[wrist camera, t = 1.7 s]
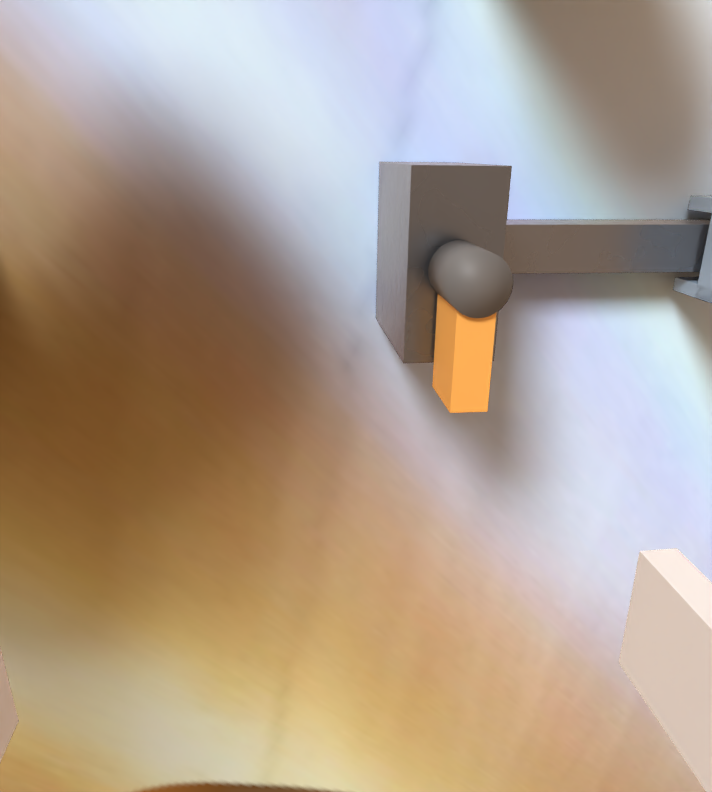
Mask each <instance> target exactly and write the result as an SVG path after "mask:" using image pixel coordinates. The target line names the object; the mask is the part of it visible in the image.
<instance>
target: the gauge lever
mask: <svg viewBox="0 0 712 792" xmlns="http://www.w3.org/2000/svg"><path fill="white" fill-rule="evenodd" d="M428 277H429V281H430V284H431V286H432V287H433V289H434V290H435V291H436V292H437V293H438V297H437V314H436V332H435V349H434V367H433V384H432V387H433V388H434V390H435V391H436V393H437V394H438V396H439V397H440V399H441V400H442V402H443V403H444V405H445V406H446V408H447V409H448V411H449V412H450V413H461V412H487V411H488V400H489V389H490V378H491V367H492V356H493V345H494V334H495V323H496V312H498V311H499V310H500V309H501V308H502V307H503V306H504V305H505V304H506V302H507V301H508V299H509V297H510V295H511V292H512V288H513V276H512V272H511V269H510V267H509V266H508V264H507V263H506V261H505V260H504V259H502V258H501V257H500V256H498V255H496V254H494V253H492V252H490V251H487V250H485V249H483V248H481V247H479V246H477V245H475V244H472V243H470V242H468V241H463V240H455V241H451V242H448V243H446V244H444V245H442V246H441V247H440V248H439V249H438V250H437V251H436V252H435V253H434V255H433V256H432V258H431V260H430V263H429V267H428Z"/></svg>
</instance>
